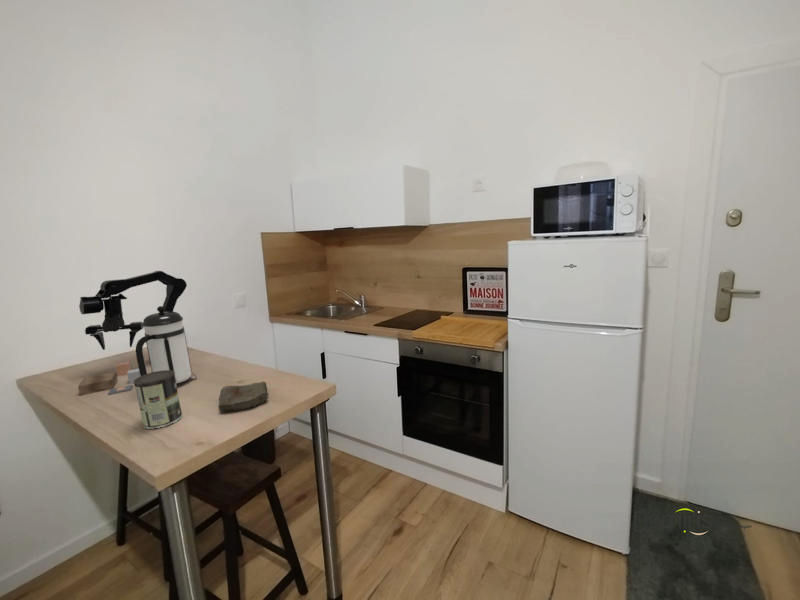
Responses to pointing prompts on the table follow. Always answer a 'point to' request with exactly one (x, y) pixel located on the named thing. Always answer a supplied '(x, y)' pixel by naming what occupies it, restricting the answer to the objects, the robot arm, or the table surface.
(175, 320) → the coffee press
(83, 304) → the robot arm
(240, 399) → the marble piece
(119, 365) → the terracotta cube
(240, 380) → the table surface
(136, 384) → the coffee can
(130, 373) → the grey cube
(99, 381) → the walnut block
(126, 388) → the card
